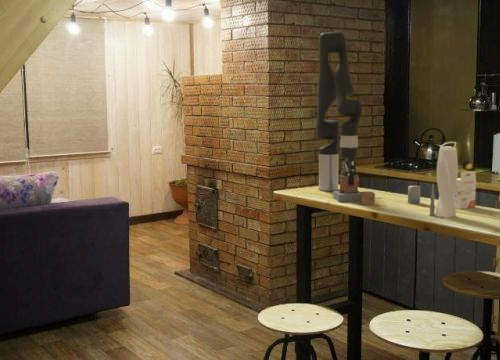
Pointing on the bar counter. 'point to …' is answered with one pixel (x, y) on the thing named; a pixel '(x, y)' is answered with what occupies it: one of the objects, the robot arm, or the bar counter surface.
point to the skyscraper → (445, 182)
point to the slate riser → (346, 196)
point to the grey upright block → (414, 194)
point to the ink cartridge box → (465, 190)
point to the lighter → (345, 186)
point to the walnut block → (367, 198)
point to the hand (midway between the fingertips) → (348, 183)
